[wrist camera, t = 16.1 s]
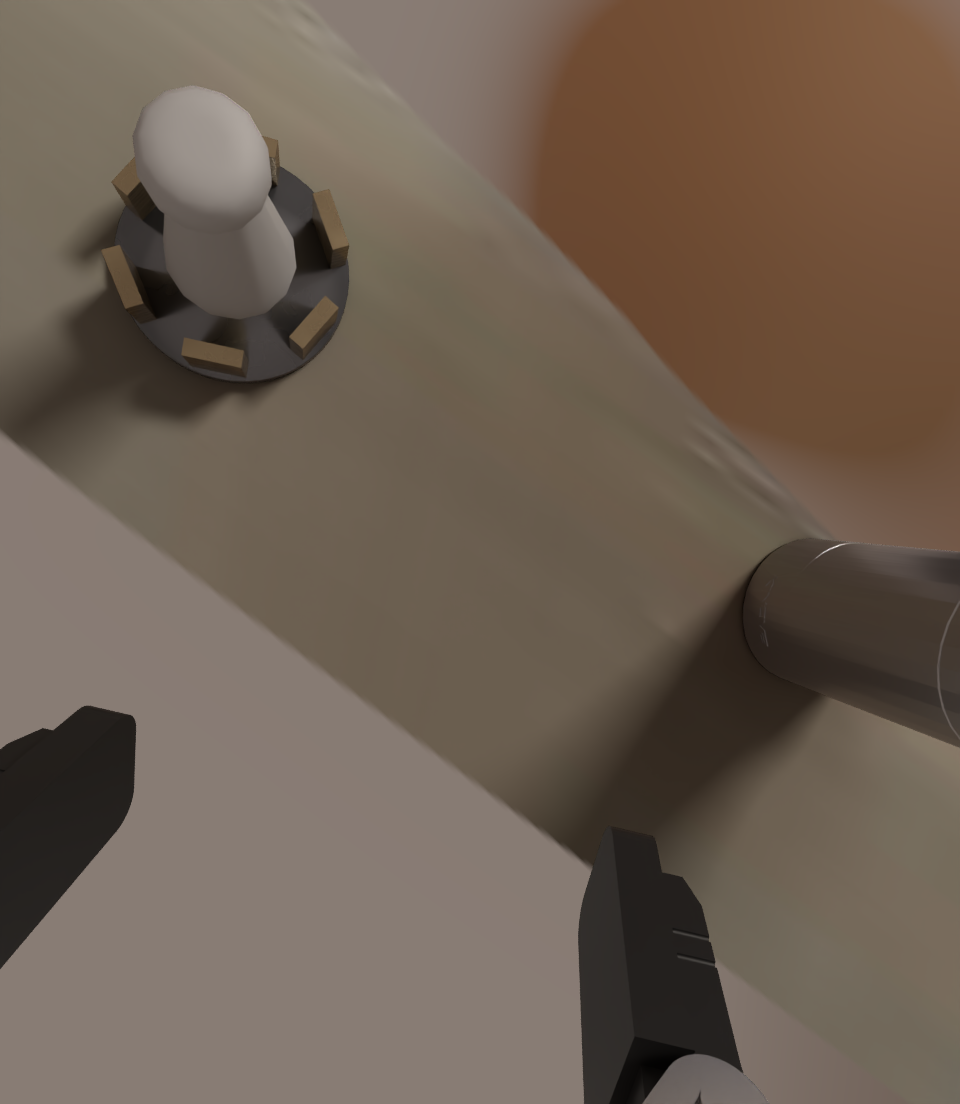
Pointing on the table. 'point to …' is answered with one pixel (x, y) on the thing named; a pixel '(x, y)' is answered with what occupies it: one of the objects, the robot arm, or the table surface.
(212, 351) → the disc with wooden blocks
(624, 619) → the table surface
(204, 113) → the salt shaker
